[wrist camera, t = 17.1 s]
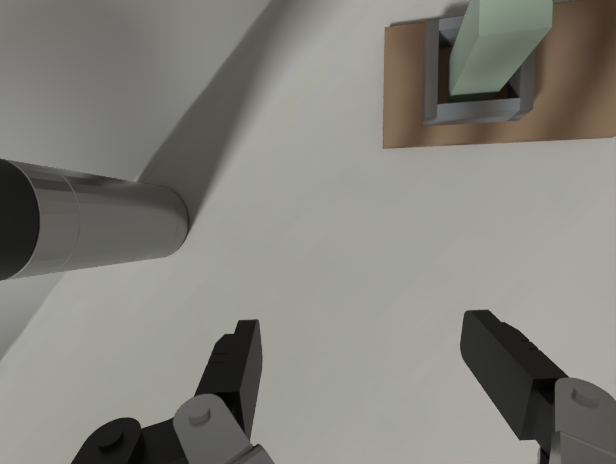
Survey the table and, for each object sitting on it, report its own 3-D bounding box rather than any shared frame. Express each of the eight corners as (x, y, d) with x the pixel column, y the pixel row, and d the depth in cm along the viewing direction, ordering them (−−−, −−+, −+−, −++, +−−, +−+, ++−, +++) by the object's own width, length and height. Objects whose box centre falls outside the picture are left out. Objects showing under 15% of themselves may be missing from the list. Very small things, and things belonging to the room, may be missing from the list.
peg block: (447, 101, 31) (478, 36, 20) (448, 60, 31) (480, -28, 20) (493, 98, 30) (551, 27, 19) (494, 55, 30) (554, -41, 19)
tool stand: (383, 148, 33) (382, 138, 29) (384, 33, 33) (384, 7, 29) (611, 137, 28) (647, 123, 24) (616, 1, 28) (653, -35, 24)
